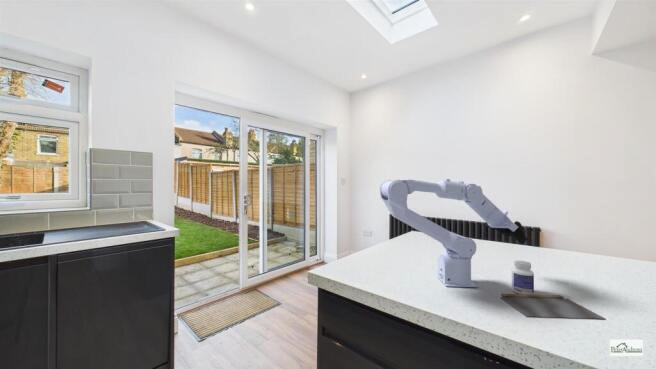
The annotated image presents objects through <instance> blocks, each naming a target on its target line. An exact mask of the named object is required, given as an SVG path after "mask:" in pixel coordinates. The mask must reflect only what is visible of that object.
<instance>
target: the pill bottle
mask: <svg viewBox="0 0 656 369" xmlns="http://www.w3.org/2000/svg"><path fill="white" fill-rule="evenodd" d="M513 262H514V264H513V265H514V267H513V268H512V269H511V290H512V291H513V292H514V293H515V294H531V295H535V294H534V293H535V273H534V271H533V270H531V269H532V263H531V262H529V261H526V260H514V261H513Z"/></svg>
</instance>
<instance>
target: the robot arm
mask: <svg viewBox="0 0 656 369" xmlns="http://www.w3.org/2000/svg"><path fill="white" fill-rule="evenodd" d="M414 192H424V193H431V194H433V193H435V195H436V196H437V197H438V198H439V199H448V200H449V199H450V200H455V201H456V200H457V201H464V203H466V204H467V205H468V206H469V207H470V209H471V210H473V211H474V212H475V213H476V214H477V215H478V216H479V217H480V218H482V220H483V221H485V223H484V225H485V227H488V228H492V229H494V230H495V231H497V232H498V233H499V234H501V235H503V236H505V237H506V236H508V237H511V238H512V239H514V240H515V241H517V242H518V243H521V244H525V242H526V241H527V240H528V238H527V236H526V234H525V233H524V231H523V229H522V223H521V222H520V221H518V220H515V221H514V222H513V221H512V220H511V219H510V218H509V216H508V213H509V212H508V211H507V210H504V209H503V210H501V209H500V208H498V207H497V206H496V205H495V204H494V203H493V202H492V201H491V199H489V198H488V197H487V196H486V195H485V194H484V193H483V189H482V187H481V186H480V185H477V184H475V183H465V182H464V181H460V180H459V181H451V180H450V179H447V178H444V179H442V180H440V181H438V182H437V183H434V182H429V181H422V180H416V179H394V180H393V179H392V180H391V179H387V180H384V181H383V182H382V183H381V184H380V186H379V193H380V199H381V200H382V202H384V204H385V206H386V208H387V209H388V212H389V213H390V215H391V216H392V217H393V218H395V219H397V220H398V221H400V222H402V223H403V224H406V225H407V226H410V227H411V228H413V229H415V230H417V231H419V232H420V233H423V234H424V235H426V236H428V237H430V238H432V239H433V240H435V241H437V242H439V243H440V244H441V245H442V246H443V247H444V249H445V254H440V255H439V256H438V258H437V260H438V261H437V276H436V277H437V279H439V280H440V282H442V284H443V285H444V286H445V287H452V288H453V287H455V288H456V287H458V288H460V287H461V288H462V287H463V288H477V287H478V285H477V284H475V283H474V282H473V281H472V258H473V256H474V255H475V254H476V252H477V243H476V242H475V240H473V239H472V238H470V237H465V236H463V235H460V234H457V233H456V232H454V231H453V232H452V231H449V230H448V229H447V228H444V227H442V226H441V225H439V224H437V223H435V222H434V221H431V220H430V219H428V218H427V217H424V216H423V215H421V214H419V213H417V212H415V211H413V210H411V209H410V208H408V196H409V195H411V194H413V193H414Z"/></svg>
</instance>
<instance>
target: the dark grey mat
mask: <svg viewBox="0 0 656 369" xmlns="http://www.w3.org/2000/svg"><path fill="white" fill-rule="evenodd" d="M500 294H501V296H500V299H502V300H503V301H504V302H506V303H507V304H508V305H510V306H511V307H512V308H514V309H515V310H516V311H518V312H519V313H520V314H522V315H523V316H524V317H526V318H546V319H547V318H549V319H551V318H552V319H576V320H577V319H579V320H580V319H581V320H606V317H603V316H601V315H599V314H598V313H596V312H594V311H592V310H590V309H588V308H586V307H585V306H583V305H581V304H579V303H576V302H575V301H573V300H571V299H569V298H565V297H564V296H562V295H557V294H533V295H531V294H519V293H500Z"/></svg>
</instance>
